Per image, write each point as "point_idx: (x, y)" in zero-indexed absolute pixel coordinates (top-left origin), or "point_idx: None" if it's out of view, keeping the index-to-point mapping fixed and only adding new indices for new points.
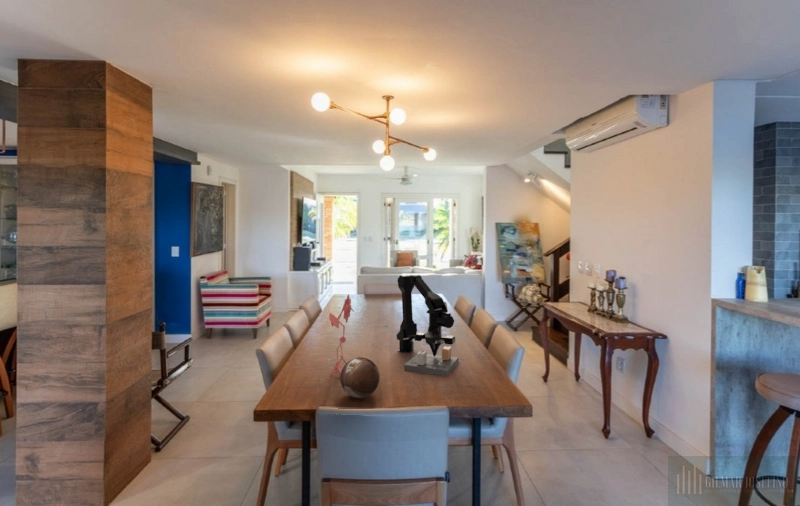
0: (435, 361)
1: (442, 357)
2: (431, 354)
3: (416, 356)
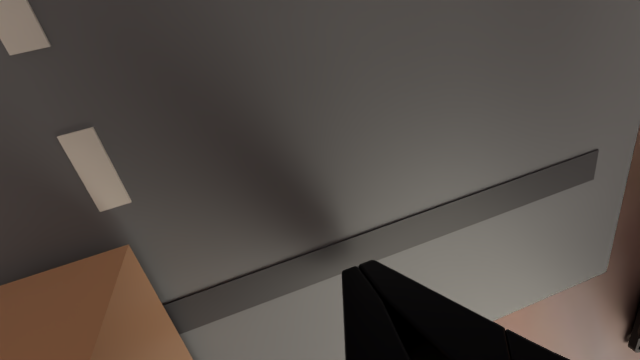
0: (200, 81)
1: (100, 281)
2: None
3: (617, 115)
